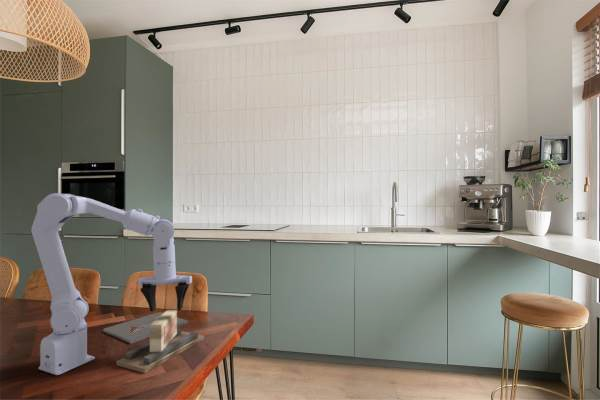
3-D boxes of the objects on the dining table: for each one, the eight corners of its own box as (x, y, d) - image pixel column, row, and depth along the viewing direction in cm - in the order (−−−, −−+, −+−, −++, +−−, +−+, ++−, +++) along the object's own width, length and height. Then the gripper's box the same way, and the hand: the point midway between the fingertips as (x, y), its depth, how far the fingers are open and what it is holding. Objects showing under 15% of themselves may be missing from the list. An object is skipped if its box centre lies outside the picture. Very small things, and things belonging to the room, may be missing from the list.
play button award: (187, 320, 115) (130, 340, 99) (187, 325, 115) (130, 345, 99) (160, 311, 124) (103, 328, 108) (160, 315, 124) (103, 333, 108)
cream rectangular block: (161, 351, 88) (161, 325, 88) (149, 351, 88) (149, 325, 88) (177, 333, 100) (177, 310, 100) (166, 333, 100) (166, 310, 100)
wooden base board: (144, 373, 82) (144, 362, 82) (116, 365, 86) (116, 355, 86) (204, 339, 102) (204, 330, 102) (179, 333, 106) (179, 326, 106)
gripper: (194, 258, 99) (196, 304, 99) (145, 260, 99) (147, 306, 99) (186, 263, 92) (188, 312, 92) (133, 265, 92) (135, 314, 92)
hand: (166, 309), depth 95 cm, fingers open, 7 cm apart
